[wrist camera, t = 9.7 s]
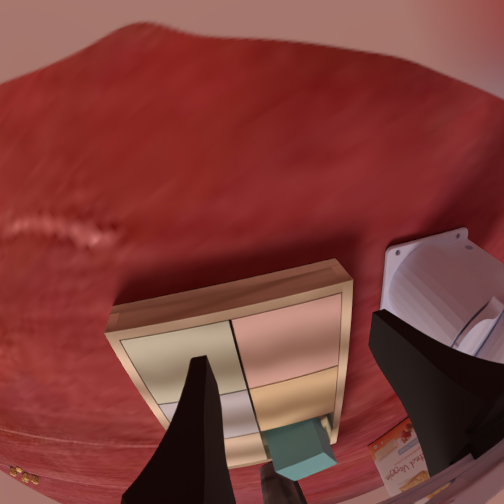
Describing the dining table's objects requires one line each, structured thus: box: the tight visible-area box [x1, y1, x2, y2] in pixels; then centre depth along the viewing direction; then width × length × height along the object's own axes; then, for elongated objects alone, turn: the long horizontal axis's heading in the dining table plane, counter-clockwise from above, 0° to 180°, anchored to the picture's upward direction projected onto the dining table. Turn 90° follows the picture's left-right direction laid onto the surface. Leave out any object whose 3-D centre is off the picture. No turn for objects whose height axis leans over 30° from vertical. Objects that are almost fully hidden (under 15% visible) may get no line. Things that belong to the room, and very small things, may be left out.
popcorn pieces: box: [10, 467, 39, 484], centre depth 33 cm, size 5×5×2 cm
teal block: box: [264, 417, 338, 481], centre depth 27 cm, size 5×5×6 cm
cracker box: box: [368, 417, 451, 504], centre depth 31 cm, size 14×6×21 cm, turn 139°
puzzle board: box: [105, 258, 353, 469], centre depth 26 cm, size 24×16×3 cm
